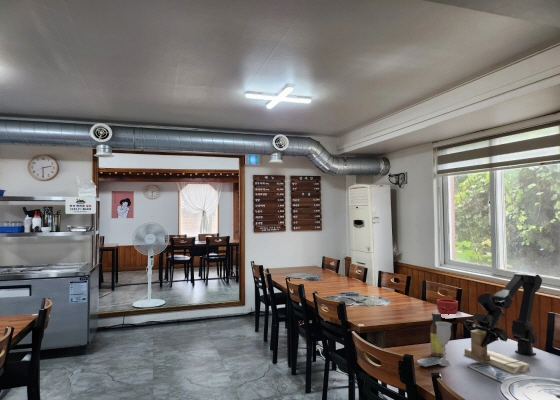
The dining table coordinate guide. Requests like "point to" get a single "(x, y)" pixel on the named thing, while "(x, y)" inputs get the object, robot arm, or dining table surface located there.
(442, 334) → the chalice
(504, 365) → the board
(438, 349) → the sauce bottle
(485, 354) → the tan pillar on plinth
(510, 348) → the dining table surface
